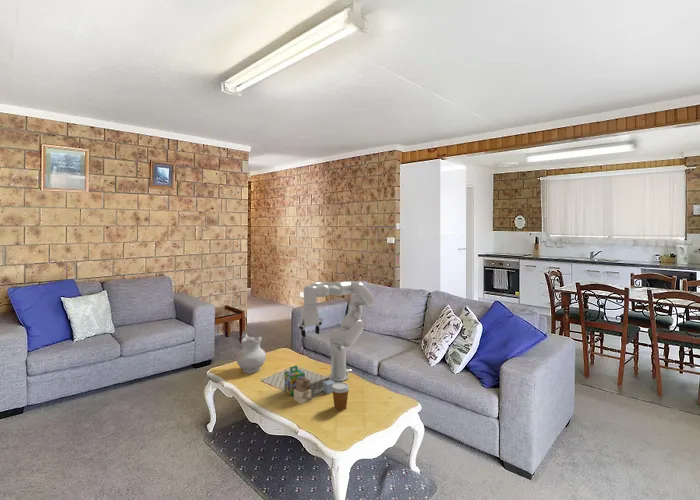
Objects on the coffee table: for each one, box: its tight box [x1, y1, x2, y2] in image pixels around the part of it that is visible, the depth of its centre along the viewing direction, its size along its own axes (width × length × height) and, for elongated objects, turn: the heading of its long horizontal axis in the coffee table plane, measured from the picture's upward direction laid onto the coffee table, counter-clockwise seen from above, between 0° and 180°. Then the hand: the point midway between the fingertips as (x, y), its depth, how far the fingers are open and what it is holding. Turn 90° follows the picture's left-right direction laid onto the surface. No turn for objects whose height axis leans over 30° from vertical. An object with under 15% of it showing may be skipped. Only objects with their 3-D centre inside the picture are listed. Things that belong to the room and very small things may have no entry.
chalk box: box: [284, 365, 306, 397], centre depth 224 cm, size 9×9×15 cm
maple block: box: [293, 389, 312, 405], centre depth 213 cm, size 7×7×6 cm
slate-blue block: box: [321, 379, 336, 395], centre depth 224 cm, size 6×6×6 cm
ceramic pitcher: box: [236, 331, 267, 375], centre depth 257 cm, size 22×20×25 cm
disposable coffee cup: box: [331, 381, 350, 411], centre depth 204 cm, size 10×10×12 cm
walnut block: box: [296, 376, 311, 392], centre depth 213 cm, size 6×6×6 cm
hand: (310, 335), depth 227 cm, fingers open, 9 cm apart
